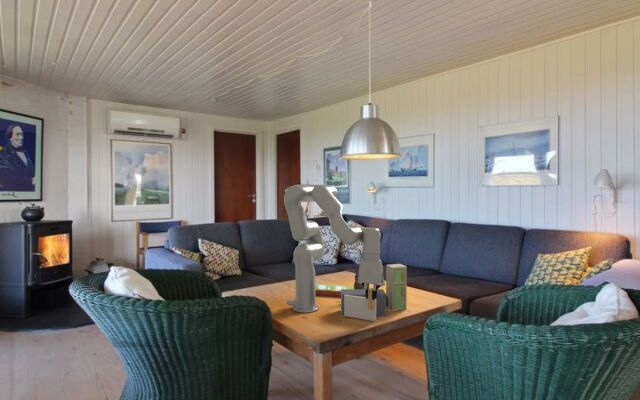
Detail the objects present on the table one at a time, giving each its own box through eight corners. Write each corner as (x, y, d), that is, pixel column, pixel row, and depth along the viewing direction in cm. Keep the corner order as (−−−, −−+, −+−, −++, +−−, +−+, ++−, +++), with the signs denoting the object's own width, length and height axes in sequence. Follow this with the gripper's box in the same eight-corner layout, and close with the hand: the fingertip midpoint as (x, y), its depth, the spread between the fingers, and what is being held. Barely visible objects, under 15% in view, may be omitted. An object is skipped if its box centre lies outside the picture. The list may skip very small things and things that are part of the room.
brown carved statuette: (352, 305, 208) (347, 270, 210) (360, 303, 211) (355, 268, 213) (366, 306, 198) (361, 269, 200) (375, 304, 201) (369, 268, 203)
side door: (341, 317, 179) (341, 285, 179) (344, 315, 182) (345, 283, 182) (373, 322, 172) (373, 289, 171) (376, 320, 175) (376, 287, 174)
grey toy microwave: (342, 316, 182) (342, 293, 182) (340, 310, 191) (341, 288, 191) (389, 316, 183) (389, 293, 182) (385, 309, 192) (385, 287, 191)
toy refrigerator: (392, 311, 189) (392, 267, 188) (385, 307, 196) (385, 264, 195) (407, 310, 191) (407, 266, 190) (400, 305, 198) (400, 263, 198)
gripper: (350, 256, 173) (350, 298, 174) (385, 259, 166) (385, 303, 166) (357, 253, 180) (357, 294, 181) (391, 256, 172) (391, 299, 173)
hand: (371, 298), depth 173 cm, fingers closed on side door, 2 cm apart
